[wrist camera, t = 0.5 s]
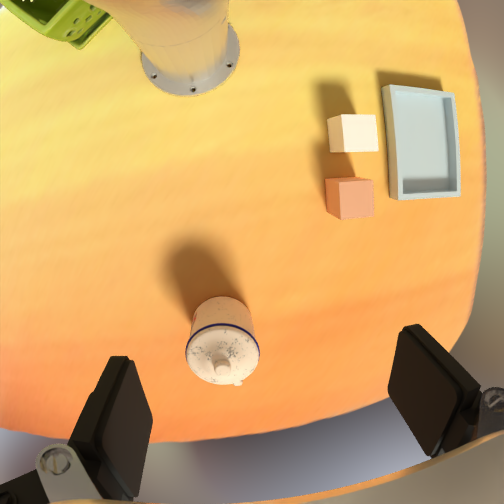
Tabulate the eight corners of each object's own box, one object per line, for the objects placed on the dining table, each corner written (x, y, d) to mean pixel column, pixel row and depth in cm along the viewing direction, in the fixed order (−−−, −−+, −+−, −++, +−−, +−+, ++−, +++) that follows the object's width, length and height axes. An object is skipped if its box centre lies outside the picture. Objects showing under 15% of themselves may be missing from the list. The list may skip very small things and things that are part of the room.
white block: (326, 119, 39) (341, 114, 33) (357, 119, 39) (375, 114, 33) (329, 152, 40) (344, 152, 35) (360, 151, 40) (378, 151, 35)
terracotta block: (324, 178, 41) (338, 182, 36) (355, 176, 41) (372, 180, 36) (326, 211, 42) (340, 219, 37) (357, 208, 42) (374, 216, 37)
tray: (380, 87, 37) (389, 84, 35) (444, 94, 38) (454, 93, 36) (389, 197, 42) (398, 200, 40) (450, 193, 43) (460, 196, 40)
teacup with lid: (182, 303, 44) (170, 349, 33) (243, 286, 44) (249, 328, 33) (210, 367, 48) (208, 419, 37) (265, 353, 48) (276, 403, 37)
